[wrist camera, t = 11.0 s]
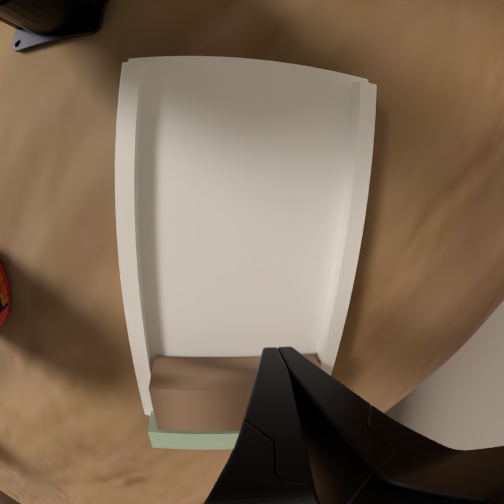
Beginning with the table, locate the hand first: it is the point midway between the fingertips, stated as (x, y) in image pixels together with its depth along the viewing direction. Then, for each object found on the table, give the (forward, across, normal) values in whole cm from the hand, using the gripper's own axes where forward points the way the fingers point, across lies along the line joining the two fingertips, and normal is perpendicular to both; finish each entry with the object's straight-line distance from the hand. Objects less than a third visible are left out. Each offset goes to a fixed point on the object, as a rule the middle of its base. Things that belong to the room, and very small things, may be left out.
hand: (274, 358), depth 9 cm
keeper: (+9, 0, +9) cm, 12 cm away
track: (+10, 0, +1) cm, 10 cm away
